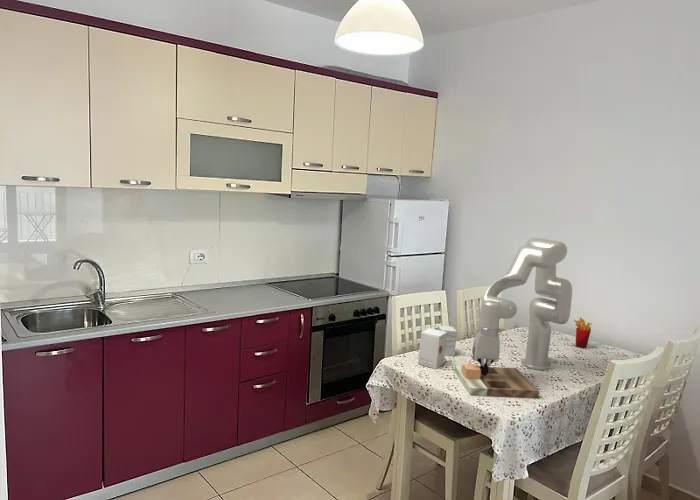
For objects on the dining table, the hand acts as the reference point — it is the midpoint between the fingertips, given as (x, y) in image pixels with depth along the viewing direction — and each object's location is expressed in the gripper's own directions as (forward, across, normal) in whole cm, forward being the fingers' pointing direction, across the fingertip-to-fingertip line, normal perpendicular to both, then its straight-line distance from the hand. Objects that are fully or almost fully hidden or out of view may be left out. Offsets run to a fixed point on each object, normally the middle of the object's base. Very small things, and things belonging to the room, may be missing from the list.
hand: (483, 374), depth 211 cm
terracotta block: (+1, +5, 0) cm, 5 cm away
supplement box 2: (+4, +7, -35) cm, 36 cm away
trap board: (+4, -5, 0) cm, 6 cm away
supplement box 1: (+4, +17, -20) cm, 27 cm away
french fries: (+4, -70, -57) cm, 90 cm away
